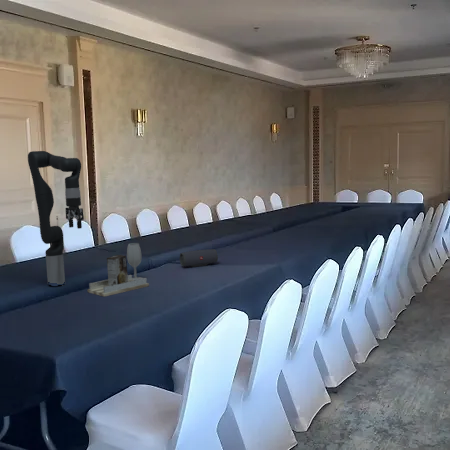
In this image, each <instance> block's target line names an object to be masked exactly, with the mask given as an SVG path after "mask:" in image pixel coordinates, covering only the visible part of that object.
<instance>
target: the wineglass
mask: <svg viewBox="0 0 450 450" xmlns="http://www.w3.org/2000/svg"><path fill="white" fill-rule="evenodd" d="M140 246H141V245H140V243H139V242H132V243H128V245H127V247H126V248H127V249H126V261H127V263H128V264H129V265H130V266H131V267H132V268H133V277H132V280H138V279H142V278H143V277H141V276H139V277H138V276H137V274H138V272H137V267H138V266H139V265H141V262H142V257H143V256H142V251H141V247H140Z"/></svg>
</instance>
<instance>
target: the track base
mask: <svg viewBox="0 0 450 450" xmlns="http://www.w3.org/2000/svg"><path fill="white" fill-rule="evenodd" d="M127 275H128V282H124V283H120V284H115V285H111V286H109V282H108V279H104V280H99V281H95V282H89V283H88V286H89V287H88V289H87V293H89V294H93V295H96V296H100V297H105V298H106V297H109V296H113V295H117V294H122V293H125V292H130V291H134V290H138V289H142V288H147V287H150V283H149V282H148V281H147V277H142V279H138V280H132V278H133V277H132V276H133V275H132V274H127Z"/></svg>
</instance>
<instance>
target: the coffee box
mask: <svg viewBox="0 0 450 450" xmlns="http://www.w3.org/2000/svg"><path fill="white" fill-rule="evenodd" d="M127 263H128V261H127V255H122V254H116V255H113V256H110V257H106V264H107V269H106V270H107V280H108V282H109V286H111V285H115V284H120V283H124V282H128V275H129V274H128V264H127Z"/></svg>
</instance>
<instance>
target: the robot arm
mask: <svg viewBox="0 0 450 450" xmlns="http://www.w3.org/2000/svg"><path fill="white" fill-rule="evenodd" d="M27 163H28V168H29V170H30V175H31V178H32V184H33V189H34V194H35V201H36V206H37V207H36V208H37V212H38V219H39V221H38V222H39V231H40V232H39V233H40V239H41V241H42V243H44V244H45V245H49V244H51V245H50V246H49V247H48V248H47V249H46V250H45V253H44V254H45V262H46V276H47V277H46V279H47V283H48V282H50V283H57V284H63V283H64V282H65V283H66V277H65V276H66V275H65V263H64V253H63V252H64V248H65V247H64V244H65V243H64V231H63V228H62V227H60V226H59V225H51V219H50V218H51V213H52V210H53V208H54V204H55V201H54V194H53V190H52V188H51V186H50V185H49V184H48V183H47V182H46V180H45V179H44V178H43V176H42V175H41V171H40V169H41V168H42V169H43V168H46V167H51V168H53V169H55V170H60V172H64V173H71V174H70V176H69V175H68V176H65V178H64V186H65V190H64V191H65V193H64V194H65V205H66V207H65V219H66V220H67V221H68V228H69V229H70V228H74V219H75V220H76V228H77V229H78V230H79V229H82V227H83V225H82V221H83V220H85V217H84V208H81V207H80V206H82V197H81V189H80V174H81V170H82V162H81V160H80V159H79V158H78V157H68V158H67V157H65V156H61V155H54V154H53V153H50V152H48V151H46V150H37V151H36V150H33V151H29V152H28V154H27Z"/></svg>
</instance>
